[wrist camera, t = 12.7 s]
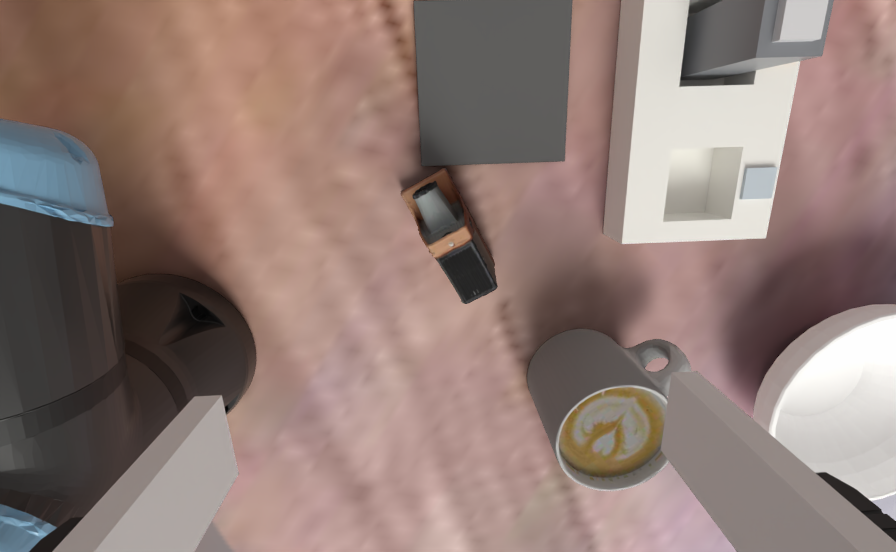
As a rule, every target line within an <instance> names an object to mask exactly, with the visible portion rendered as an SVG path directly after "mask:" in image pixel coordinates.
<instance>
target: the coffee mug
mask: <svg viewBox="0 0 896 552" xmlns="http://www.w3.org/2000/svg"><path fill="white" fill-rule="evenodd" d="M656 358H666V359H668V360H669V362H668V364H667V365H666V367H665V368H664V369H662V370H660V371H658V372H650V371H647V370H646V369H645V367H646V365H647V364H648V363H649V362H650V361H652V360H653V359H656ZM672 372H691V366H690V363H689V361H688V359H687V358H686V356H685V354H684V353H683V352H682V351H681V350H680V349H679V348H678V347H677V346H676V345H674V344H672V343H670V342H668V341H665V340H661V339H653V340H648V341H645V342H643V343H641V344H638V345H636V346H634V347H631V348H623V347H621V346H619V345H618V344H617V343H616V342H615V341H614V340H613V339H611V338H610V337H609V336H607V335H605V334H604V333H601V332H598V331H595V330H591V329H574V330H568V331H565V332H562V333H560V334H557V335H555V336H553V337H552V338H550V339H549V340H547V341H546V342H545V343H544V344H543V345H541V347H540V348H539V349H538V350H537V351H536V353H535V354H534V356H533V357H532V359H531V362H530V365H529V368H528V373H527V383H528V388H529V391H530V394H531V396H532V399H533V401H534V403H535V406H536V408H537V411H538V413H539V416H540V418H541V421H542V423H543V426H544V428H545V431H546V433H547V436H548V438H549V441H550V443H551V446H552V448H553V451H554V453H555V456H556V458H557V460H558V463H559V464H560V466H561V468H562V469H563V471H564V472H565V473H566V474H567V475H568V476H569V477H570V478H571V479H572V480H573V481H575V482H576V483H578V484H580V485H582V486H585V487H587V488H590V489H594V490H600V491H618V490H624V489H628V488H632V487H635V486H637V485H640V484H642V483H644V482H646V481H648V480H649V479H651V478H652V477H654V476H655V475H656V474H657V473H659V472H660V471H661V470H662V469H663V468H664V467H665V466H666V465H667V464H668V463H669V460H668V459H667V458H666V456H665V455H664V454H663V452H662V451H661V444H662V437H663V429H664V422H665V415H666V408H667V401H668V398H667V396H668V394H669V387H670V380H671V373H672Z"/></svg>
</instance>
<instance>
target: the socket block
mask: <svg viewBox="0 0 896 552" xmlns="http://www.w3.org/2000/svg"><path fill="white" fill-rule="evenodd" d="M721 1H723V0H621V9H620V22H619V35H618V47H617V60H616V73H615V86H614V99H613V111H612V124H611V137H610V150H609V162H608V175H607V188H606V201H605V214H604V226H603V234H604V235H606V236H608V237H610V238H611V239H613V240H615V241H617V242H619V243H621V244H636V243H660V242H685V241H709V240H734V239H759V238H766V235H767V230H768V225H769V219H770V214H771V209H772V204H773V199H774V194H775V189H776V184H777V178H778V173H779V168H780V163H781V158H782V153H783V148H784V142H785V137H786V132H787V127H788V122H789V117H790V112H791V106H792V101H793V96H794V91H795V86H796V81H797V76H798V70H799V65H800V61H797V62H792V63H788V64H783V65H779V66H774V67H769V68H765V69H760V70H755V71H751V72H746V73H741V74H737V75H732V76H728V77H723V78H718V79H709V80H680V76H681V68H682V60H683V51H684V43H685V35H686V26H687V18H688V17H689V16H691V15H693V14H696V13H698V12H700V11H702V10H704V9H706V8H708V7H710V6H712V5H714V4H716V3H719V2H721Z"/></svg>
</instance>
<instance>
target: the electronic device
mask: <svg viewBox="0 0 896 552" xmlns="http://www.w3.org/2000/svg"><path fill="white" fill-rule="evenodd" d="M401 196H402V197H403V199H404V201H405V202H406V204H407V206H408V208H409V210H410V211H411V214H412V215H413V216H414V219H415V221H416V223H417V226H418V231H419V234H420V236H421V238H422V240H423V242H424V243H425V245H426V247H427V248H428V249H429V252H430V253H431V254H432V256H434V258H435V259H436V260H437V261H438V263H439V264H440V266H441V268H442V269H443V271H444V272H445V274H446V275H447V277H448V279H449V280H450V282H451V283H452V285H453V287H454V288H455V290H456V292H457V293H458V295H459V297H460V298H461V302H462V303H465V304H467V303H470V302H472V301H474V300H476V299H478V298H480V297H481V296H484V295H487V294H488V293H490V292H492V291H494V290H495V289H496V288H497V287H498V286H497V282H496V275H495V268H494V266H495V263H494V260H493V258H492V256H491V254H490V252H489V250H488V248H487V246H486V244H485V242H484V241H483V239H482V236H481V234H480V232H479V230H478V228H477V227H476V224H475V222H474V220H473V218H472V216H471V214H470V213H469V210H468V208H467V207H466V205H465V203H464V202H463V200H462V197H461V195H460V193H459V192H458V190H457V189H456V187H455V185H454V183H453V181H452V178H451V176H450V175H449V173H448V171H447V169H446V168H442V169H441V170H440V171H438V172H436V173H434V174H433V175H431V176H429V177H427V178H425V179H424V180H422V181H420V182H418V183H417V184H415V185H413V186H411V187H409V188H407V189H405V190H402V191H401Z"/></svg>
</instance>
